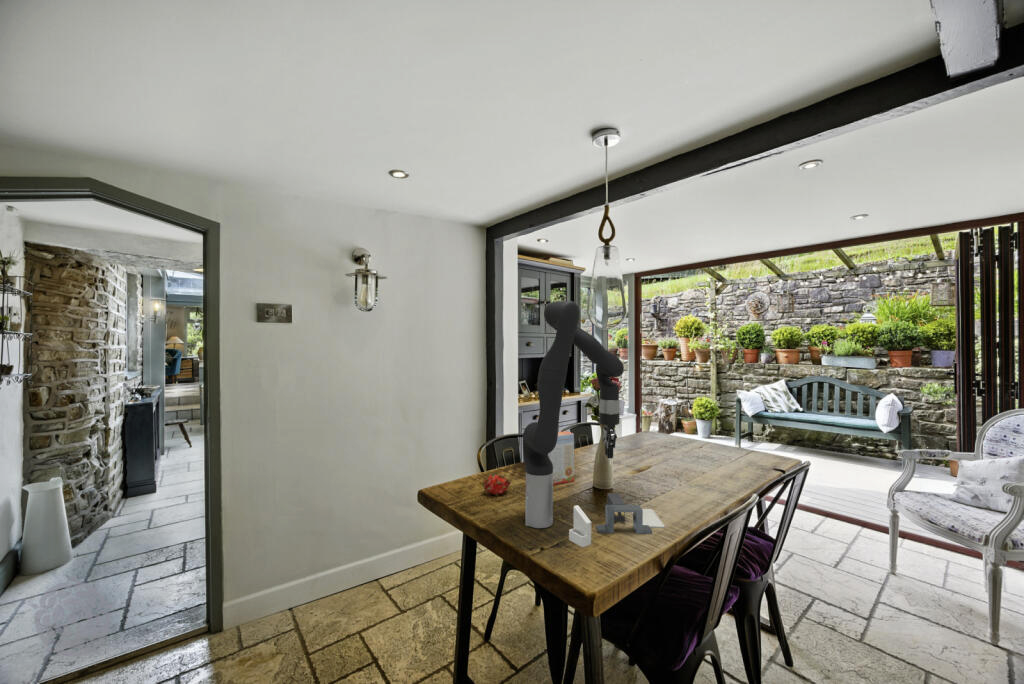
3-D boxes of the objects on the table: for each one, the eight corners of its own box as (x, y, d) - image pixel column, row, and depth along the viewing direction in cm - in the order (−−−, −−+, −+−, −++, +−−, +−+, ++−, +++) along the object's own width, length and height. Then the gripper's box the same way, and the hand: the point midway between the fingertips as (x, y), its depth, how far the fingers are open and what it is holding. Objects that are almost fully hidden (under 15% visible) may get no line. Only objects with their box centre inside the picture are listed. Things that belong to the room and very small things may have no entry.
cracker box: (567, 477, 188) (567, 430, 188) (574, 481, 182) (574, 433, 182) (539, 482, 182) (539, 433, 182) (546, 486, 177) (546, 436, 176)
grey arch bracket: (598, 533, 135) (598, 509, 135) (596, 527, 139) (596, 504, 139) (652, 533, 134) (652, 510, 134) (648, 528, 138) (648, 505, 138)
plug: (613, 523, 142) (614, 505, 142) (606, 507, 155) (606, 491, 155) (625, 523, 142) (626, 506, 142) (617, 508, 155) (617, 491, 155)
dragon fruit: (479, 499, 167) (507, 499, 172) (487, 492, 161) (516, 492, 166) (478, 477, 172) (505, 478, 177) (485, 470, 166) (513, 471, 170)
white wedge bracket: (568, 523, 136) (577, 504, 132) (587, 550, 129) (598, 531, 125) (559, 526, 134) (569, 507, 130) (578, 554, 127) (589, 534, 123)
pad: (640, 527, 139) (640, 526, 139) (629, 509, 153) (629, 508, 153) (665, 527, 139) (665, 526, 139) (652, 510, 153) (652, 509, 153)
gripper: (596, 407, 167) (596, 451, 168) (602, 414, 153) (602, 462, 154) (615, 408, 167) (615, 451, 167) (623, 414, 153) (623, 462, 153)
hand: (609, 456), depth 160 cm, fingers open, 3 cm apart
